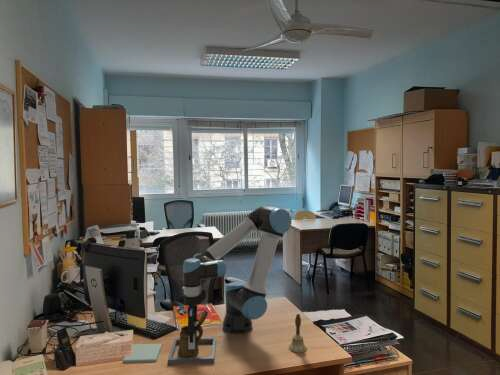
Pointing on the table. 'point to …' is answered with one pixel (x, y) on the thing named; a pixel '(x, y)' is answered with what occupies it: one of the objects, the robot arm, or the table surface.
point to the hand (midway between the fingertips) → (193, 342)
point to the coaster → (144, 353)
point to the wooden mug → (183, 344)
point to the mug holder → (192, 360)
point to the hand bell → (297, 338)
